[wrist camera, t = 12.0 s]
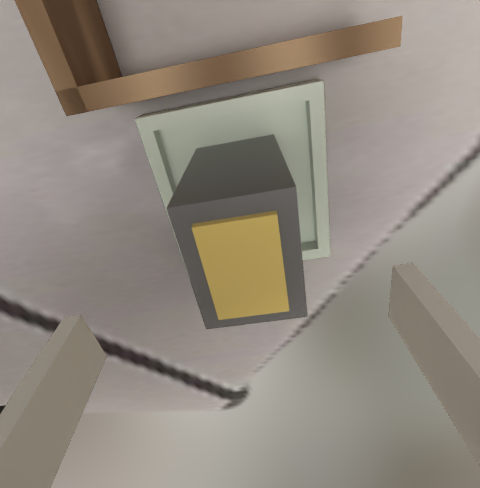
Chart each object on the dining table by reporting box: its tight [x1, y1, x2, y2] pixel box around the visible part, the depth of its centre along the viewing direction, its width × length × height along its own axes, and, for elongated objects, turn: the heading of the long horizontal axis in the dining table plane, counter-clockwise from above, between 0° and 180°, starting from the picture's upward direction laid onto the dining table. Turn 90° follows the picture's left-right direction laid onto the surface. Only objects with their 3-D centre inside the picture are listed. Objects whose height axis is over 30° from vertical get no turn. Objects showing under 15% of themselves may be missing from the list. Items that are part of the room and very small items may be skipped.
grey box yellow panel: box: [166, 134, 307, 329], centre depth 20 cm, size 6×8×11 cm
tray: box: [135, 79, 330, 277], centre depth 25 cm, size 13×14×2 cm
